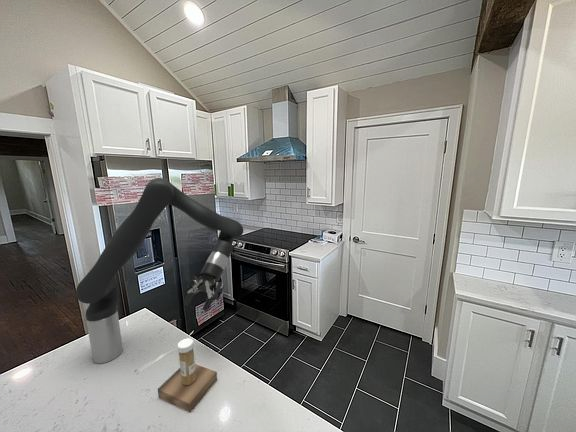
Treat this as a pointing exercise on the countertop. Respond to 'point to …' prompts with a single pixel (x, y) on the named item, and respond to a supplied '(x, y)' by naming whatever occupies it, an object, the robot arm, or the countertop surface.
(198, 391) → the walnut dock
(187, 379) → the sprinkles bottle
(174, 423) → the countertop surface
